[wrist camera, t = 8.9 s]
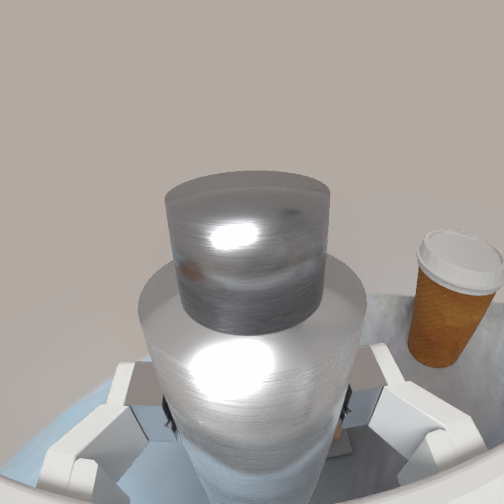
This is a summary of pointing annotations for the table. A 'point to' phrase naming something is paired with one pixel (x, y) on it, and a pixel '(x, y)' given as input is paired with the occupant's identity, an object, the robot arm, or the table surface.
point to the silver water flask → (253, 332)
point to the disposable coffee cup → (452, 293)
